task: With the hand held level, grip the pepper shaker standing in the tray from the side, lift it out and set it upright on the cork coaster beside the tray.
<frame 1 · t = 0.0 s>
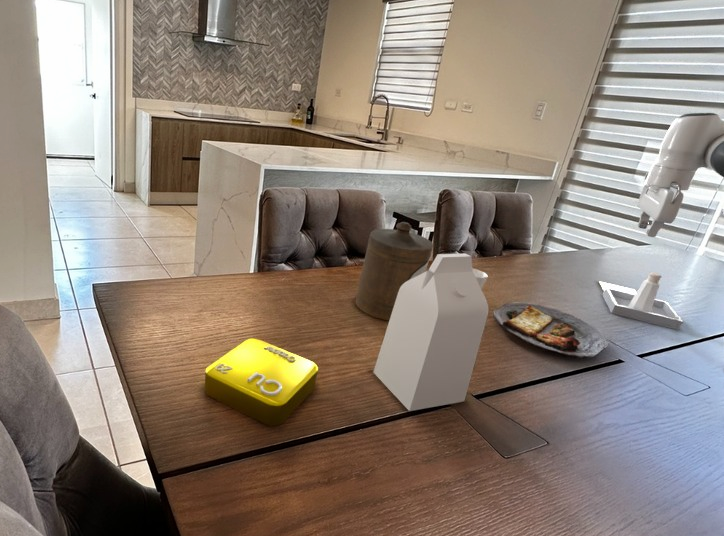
hand: (645, 232, 124), 23 cm above the table, tool pointing down, fingers open, 8 cm apart
food plate: (545, 335, 113), on the table
milk: (417, 387, 87), on the table
cup: (466, 298, 129), on the table
pepper shaker: (638, 310, 134), resting on tray
element tile: (260, 389, 81), on the table
wooden container: (384, 308, 117), on the table
tray: (638, 311, 134), on the table
coaster: (619, 291, 147), on the table
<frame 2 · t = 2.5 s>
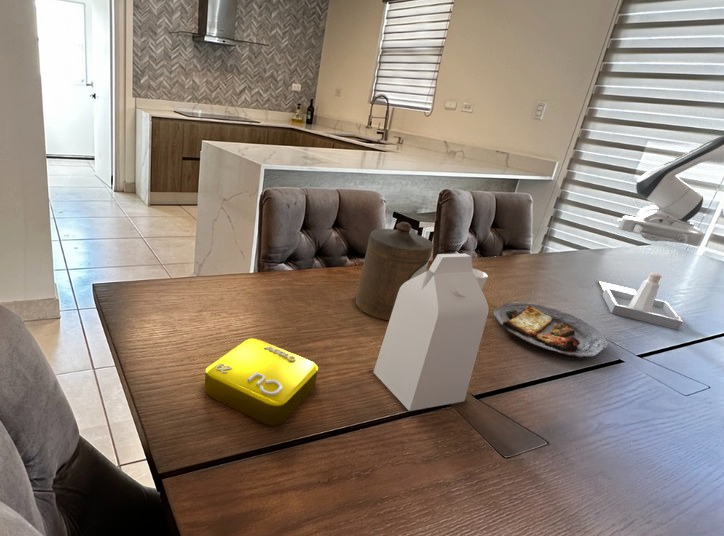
hand: (662, 235, 136), 20 cm above the table, tool horizontal, fingers open, 8 cm apart
nothing on the table moved.
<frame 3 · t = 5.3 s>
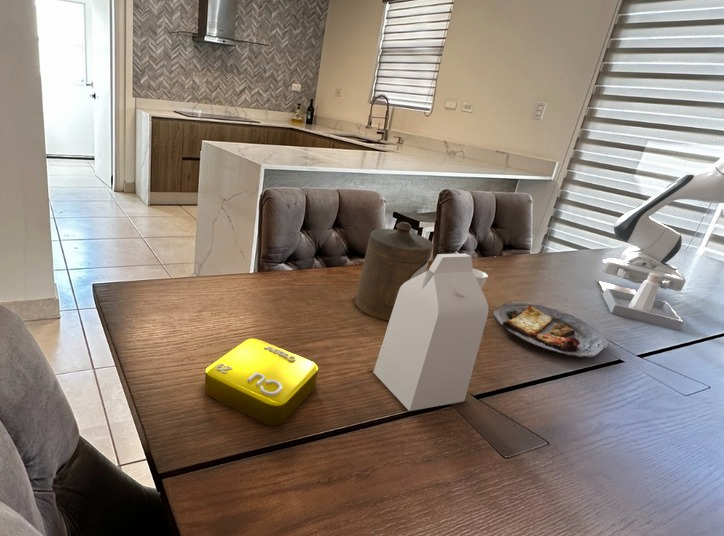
hand: (644, 281, 138), 7 cm above the table, tool horizontal, fingers open, 8 cm apart
nothing on the table moved.
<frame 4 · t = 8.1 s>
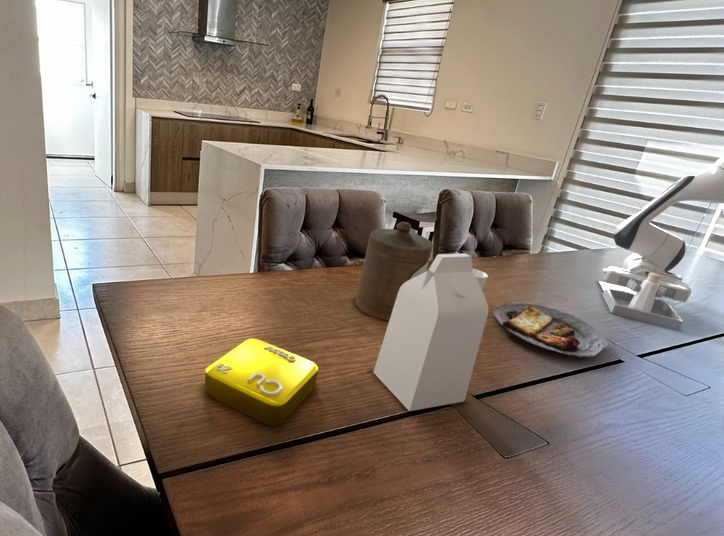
hand: (648, 291, 131), 7 cm above the table, tool horizontal, fingers closed on pepper shaker, 4 cm apart
pepper shaker: (638, 310, 134), resting on tray, touching gripper
everything else where it was.
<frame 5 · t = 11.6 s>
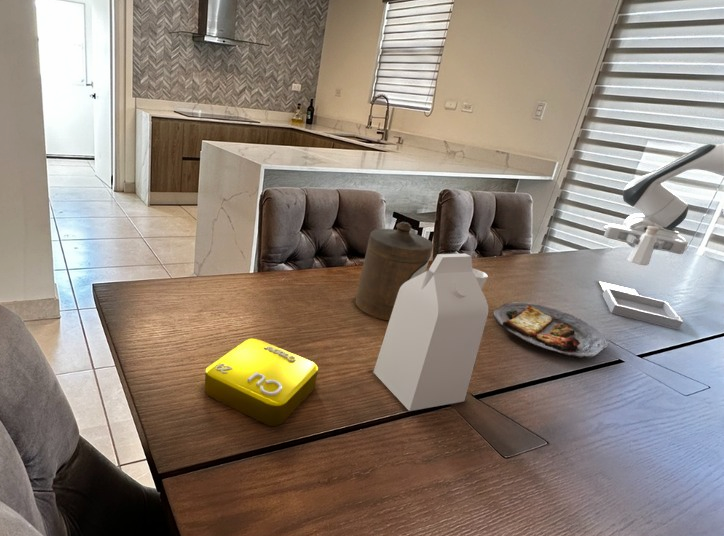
hand: (646, 244, 137), 17 cm above the table, tool horizontal, fingers closed on pepper shaker, 4 cm apart
pepper shaker: (637, 262, 140), point 11 cm above the table, touching gripper
everything else where it was.
when the fingers open (6 cm above the table, at t = 15.2 s): pepper shaker stays where it is, resting on coaster.
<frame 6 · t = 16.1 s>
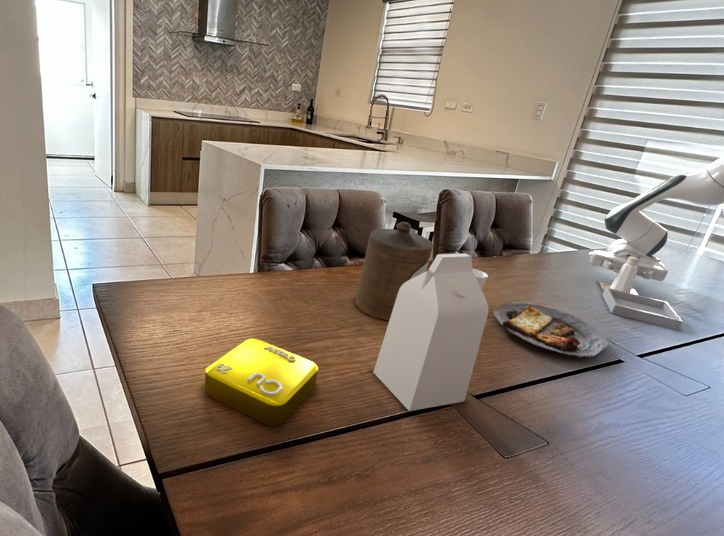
hand: (628, 271, 144), 7 cm above the table, tool horizontal, fingers open, 8 cm apart
pepper shaker: (619, 291, 147), resting on coaster
everything else where it was.
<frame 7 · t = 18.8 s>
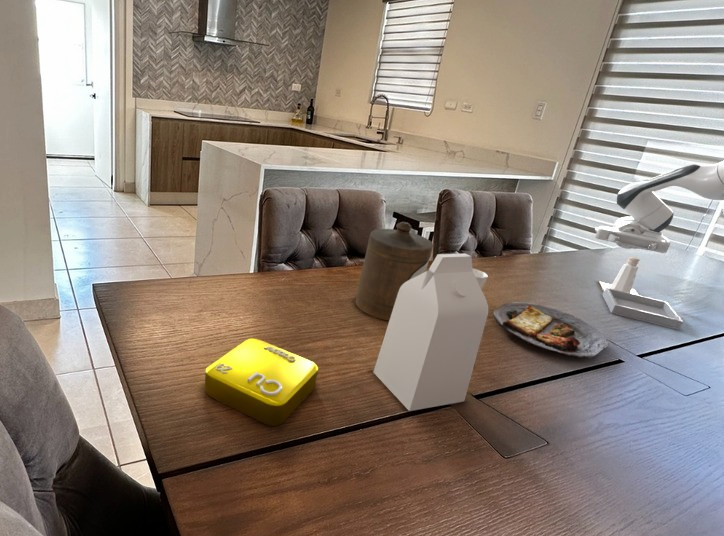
hand: (633, 244, 152), 13 cm above the table, tool horizontal, fingers open, 8 cm apart
nothing on the table moved.
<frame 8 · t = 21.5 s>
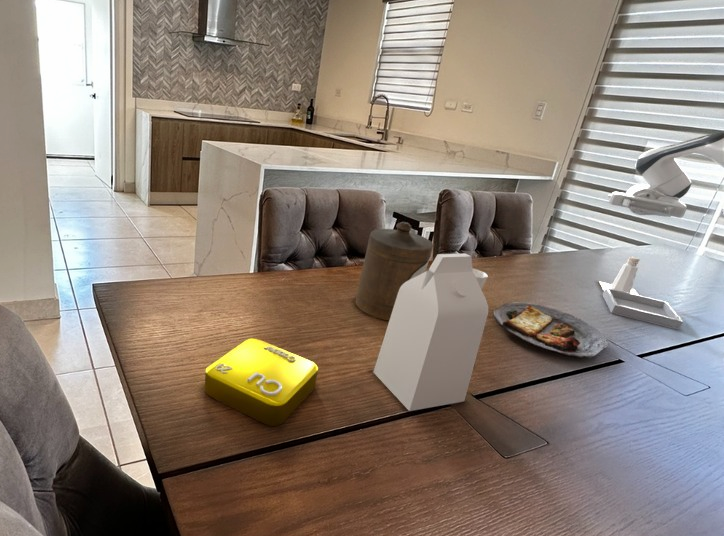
hand: (648, 208, 147), 25 cm above the table, tool horizontal, fingers open, 8 cm apart
nothing on the table moved.
at the end: pepper shaker inside the target area (0.1 cm from its centre), resting on coaster; pepper shaker tilted 0°; pepper shaker touching coaster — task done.
